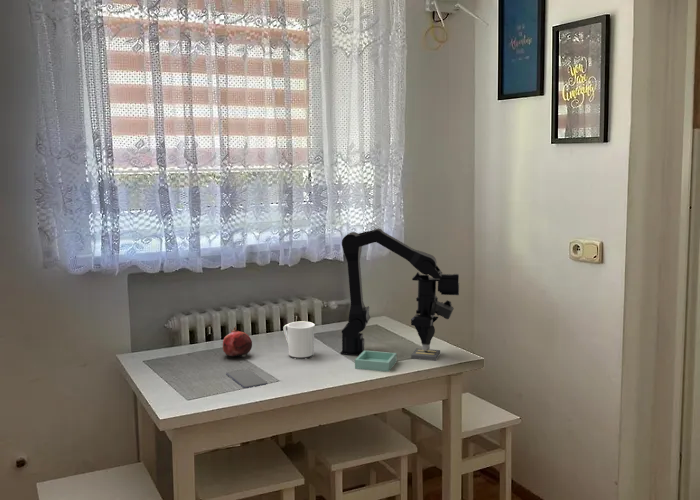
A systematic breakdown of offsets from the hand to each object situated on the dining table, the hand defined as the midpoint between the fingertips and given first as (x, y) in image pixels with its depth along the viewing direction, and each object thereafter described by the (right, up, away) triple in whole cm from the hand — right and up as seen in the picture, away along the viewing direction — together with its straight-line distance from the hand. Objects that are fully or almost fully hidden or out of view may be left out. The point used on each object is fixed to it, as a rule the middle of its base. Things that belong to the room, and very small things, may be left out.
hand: (425, 341), depth 238 cm
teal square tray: (-16, -6, -9) cm, 20 cm away
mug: (-41, -5, +2) cm, 42 cm away
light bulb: (0, -4, +1) cm, 4 cm away
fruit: (-61, -5, +1) cm, 61 cm away
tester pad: (0, -5, +1) cm, 5 cm away
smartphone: (-55, -9, -22) cm, 60 cm away
